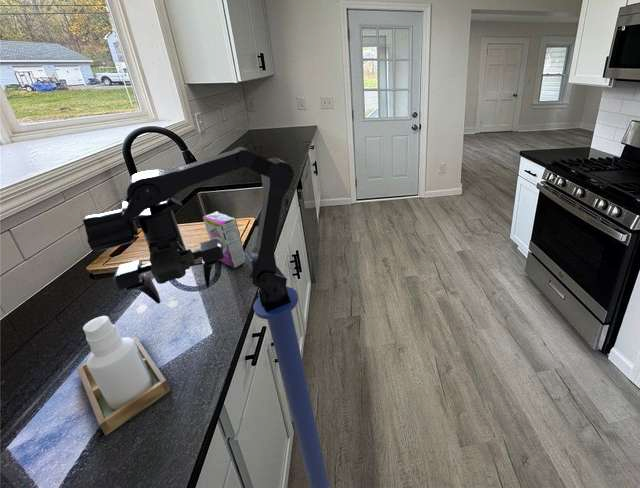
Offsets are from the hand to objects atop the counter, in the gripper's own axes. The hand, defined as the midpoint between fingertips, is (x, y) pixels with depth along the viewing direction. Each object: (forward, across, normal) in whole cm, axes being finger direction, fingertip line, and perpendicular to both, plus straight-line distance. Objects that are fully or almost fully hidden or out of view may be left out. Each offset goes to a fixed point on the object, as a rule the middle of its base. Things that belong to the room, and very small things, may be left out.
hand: (184, 294), depth 70 cm
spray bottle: (+13, -12, -9) cm, 19 cm away
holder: (+13, -14, -5) cm, 19 cm away
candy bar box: (+13, +10, +32) cm, 36 cm away
